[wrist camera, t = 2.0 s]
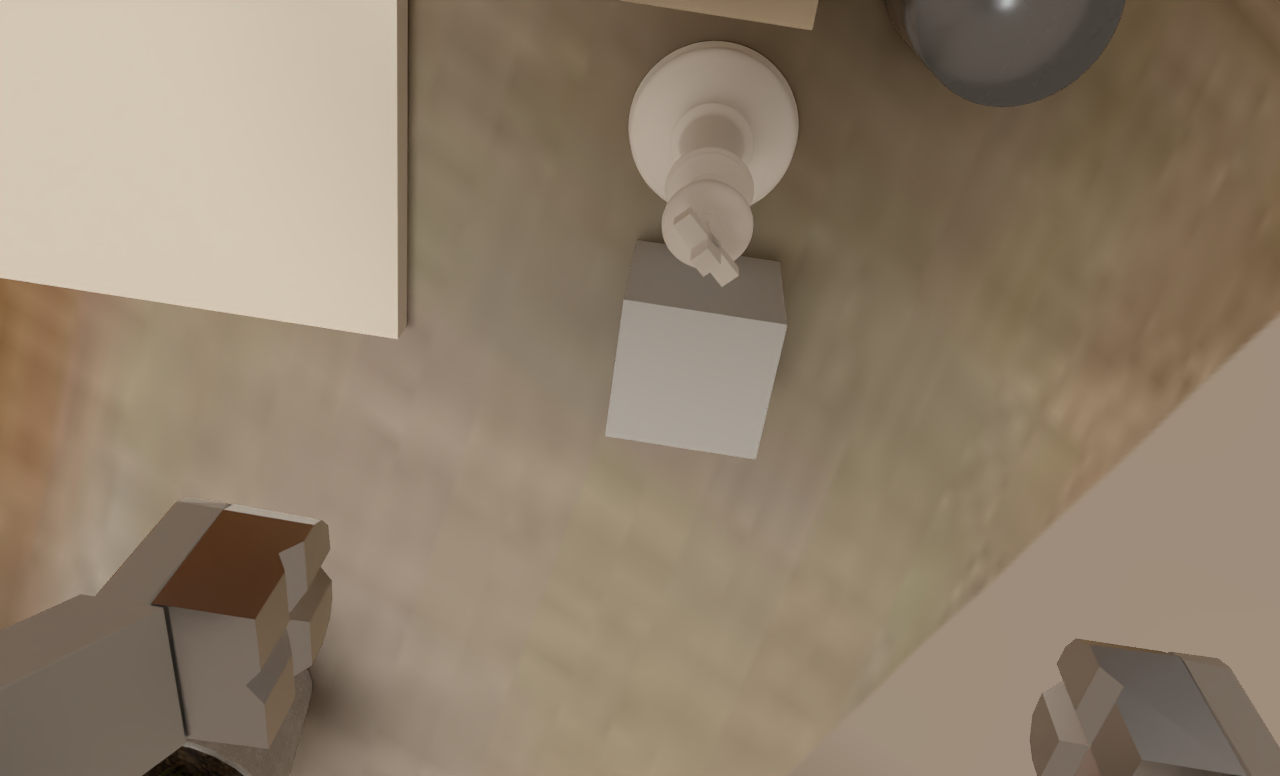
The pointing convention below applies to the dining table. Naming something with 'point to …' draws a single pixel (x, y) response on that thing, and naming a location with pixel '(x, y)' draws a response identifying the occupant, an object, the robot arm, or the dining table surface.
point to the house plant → (243, 748)
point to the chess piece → (712, 147)
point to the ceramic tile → (210, 154)
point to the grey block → (696, 354)
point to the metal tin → (1006, 43)
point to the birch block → (749, 10)
